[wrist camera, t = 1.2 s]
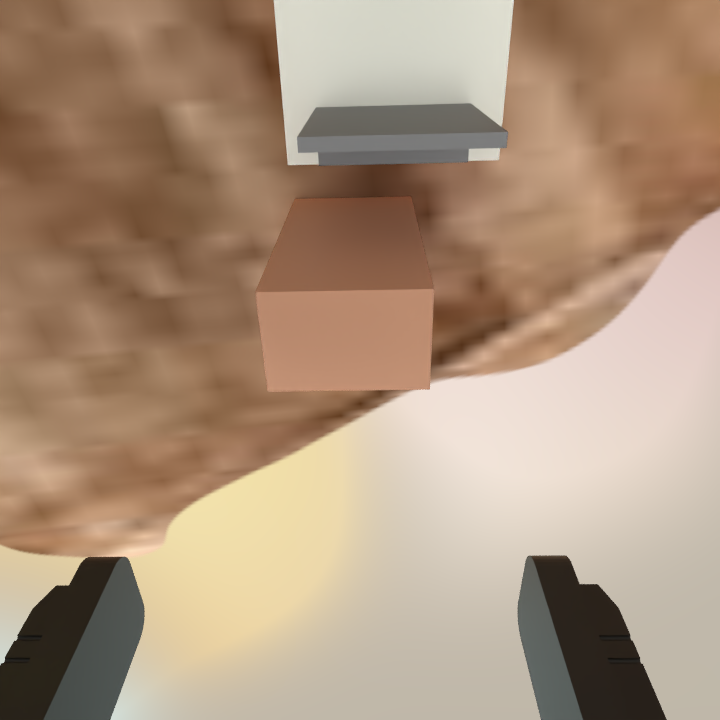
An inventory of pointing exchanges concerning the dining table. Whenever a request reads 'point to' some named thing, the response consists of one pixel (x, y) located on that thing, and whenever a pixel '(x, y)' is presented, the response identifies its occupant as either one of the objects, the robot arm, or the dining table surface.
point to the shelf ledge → (393, 80)
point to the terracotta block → (347, 298)
